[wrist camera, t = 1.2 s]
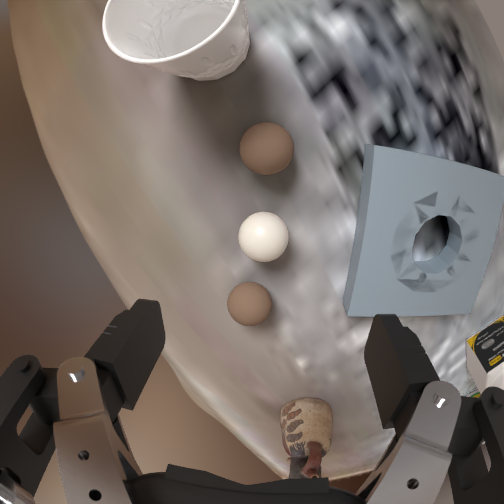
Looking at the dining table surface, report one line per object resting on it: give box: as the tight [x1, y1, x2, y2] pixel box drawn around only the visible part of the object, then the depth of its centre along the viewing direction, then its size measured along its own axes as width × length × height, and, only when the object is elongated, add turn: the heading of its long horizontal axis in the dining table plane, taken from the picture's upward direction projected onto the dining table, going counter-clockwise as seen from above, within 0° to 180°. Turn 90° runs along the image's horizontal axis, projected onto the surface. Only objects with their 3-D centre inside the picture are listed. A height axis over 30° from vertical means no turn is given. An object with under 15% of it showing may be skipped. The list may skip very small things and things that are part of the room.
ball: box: [238, 212, 289, 262], centre depth 23 cm, size 4×4×4 cm
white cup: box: [103, 0, 250, 81], centre depth 14 cm, size 8×8×10 cm
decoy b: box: [227, 282, 272, 326], centre depth 26 cm, size 4×4×4 cm
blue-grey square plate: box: [343, 144, 504, 317], centre depth 22 cm, size 15×15×2 cm
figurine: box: [280, 398, 333, 479], centre depth 29 cm, size 7×7×12 cm
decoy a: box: [239, 122, 294, 175], centre depth 20 cm, size 4×4×4 cm
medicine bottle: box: [466, 315, 504, 394], centre depth 23 cm, size 7×7×12 cm
